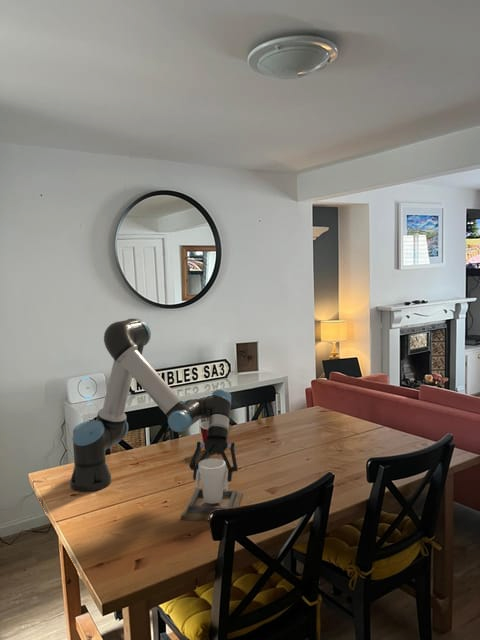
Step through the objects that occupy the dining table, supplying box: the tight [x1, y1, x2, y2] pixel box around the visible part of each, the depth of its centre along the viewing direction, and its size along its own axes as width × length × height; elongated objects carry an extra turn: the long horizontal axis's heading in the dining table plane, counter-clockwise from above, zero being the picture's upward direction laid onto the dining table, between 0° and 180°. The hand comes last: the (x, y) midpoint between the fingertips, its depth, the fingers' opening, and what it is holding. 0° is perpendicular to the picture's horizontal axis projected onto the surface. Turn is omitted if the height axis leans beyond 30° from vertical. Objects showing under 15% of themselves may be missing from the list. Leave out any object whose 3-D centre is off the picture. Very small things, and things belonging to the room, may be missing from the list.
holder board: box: [180, 487, 244, 522], centre depth 182 cm, size 18×20×3 cm
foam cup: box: [198, 457, 227, 504], centre depth 181 cm, size 10×9×13 cm
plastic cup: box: [199, 420, 209, 451], centre depth 237 cm, size 11×11×12 cm
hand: (210, 489), depth 179 cm, fingers closed on foam cup, 9 cm apart
